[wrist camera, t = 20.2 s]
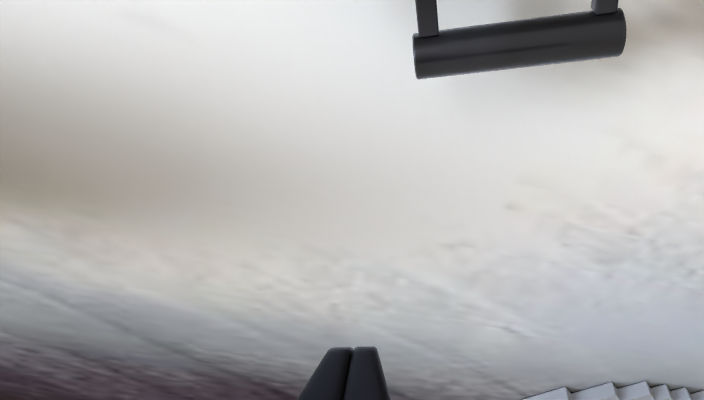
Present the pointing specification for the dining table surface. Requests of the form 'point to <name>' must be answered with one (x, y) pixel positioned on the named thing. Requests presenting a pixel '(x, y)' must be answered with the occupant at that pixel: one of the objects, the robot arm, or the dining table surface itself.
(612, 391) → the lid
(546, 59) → the drawer
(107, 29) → the dining table surface
